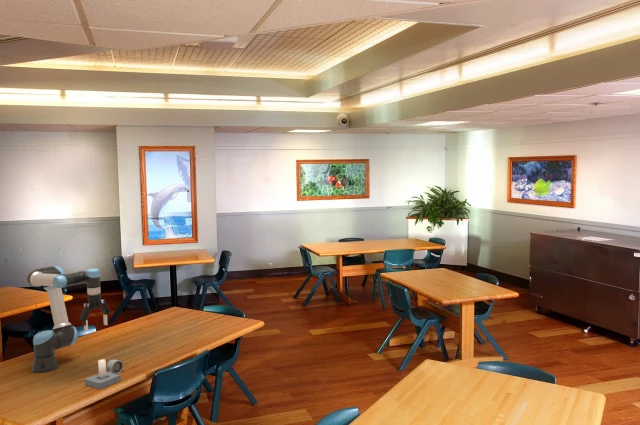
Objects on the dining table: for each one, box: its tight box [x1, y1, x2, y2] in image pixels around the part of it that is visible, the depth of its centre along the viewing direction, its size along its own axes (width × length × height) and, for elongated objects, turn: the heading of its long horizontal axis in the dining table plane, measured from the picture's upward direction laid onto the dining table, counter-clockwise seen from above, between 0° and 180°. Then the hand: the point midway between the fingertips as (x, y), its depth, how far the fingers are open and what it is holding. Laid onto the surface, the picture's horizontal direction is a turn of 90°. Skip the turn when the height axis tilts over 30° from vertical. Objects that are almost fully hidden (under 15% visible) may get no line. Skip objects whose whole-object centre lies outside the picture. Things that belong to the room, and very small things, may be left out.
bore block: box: [84, 371, 122, 390], centre depth 311 cm, size 14×14×4 cm
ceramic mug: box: [106, 359, 124, 374], centre depth 327 cm, size 11×8×8 cm
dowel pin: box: [97, 358, 107, 380], centre depth 310 cm, size 4×4×12 cm
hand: (96, 327), depth 325 cm, fingers open, 13 cm apart
